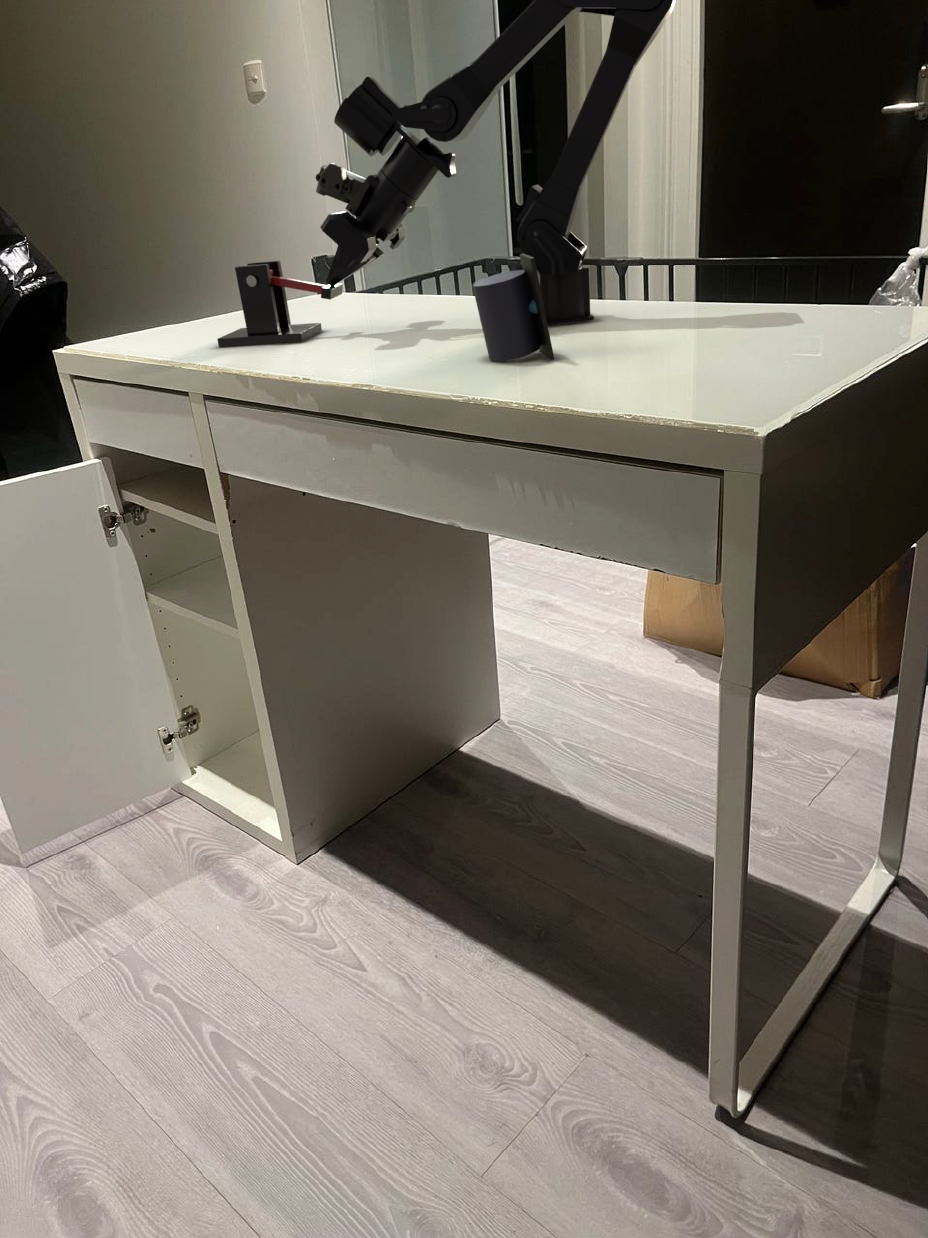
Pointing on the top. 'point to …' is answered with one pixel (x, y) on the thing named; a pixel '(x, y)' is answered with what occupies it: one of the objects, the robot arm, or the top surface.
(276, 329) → the lever switch
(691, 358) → the top surface
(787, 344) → the top surface
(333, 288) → the paintbrush
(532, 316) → the speaker
